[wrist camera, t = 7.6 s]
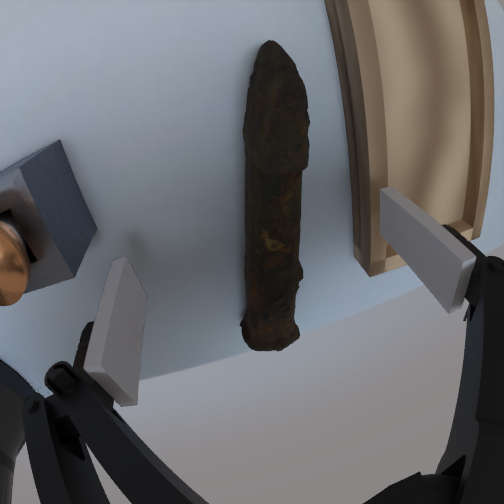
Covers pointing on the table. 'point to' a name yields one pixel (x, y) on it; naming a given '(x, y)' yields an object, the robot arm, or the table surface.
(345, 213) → the table surface
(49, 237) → the socket block
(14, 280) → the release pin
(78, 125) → the table surface
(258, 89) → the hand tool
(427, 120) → the tray
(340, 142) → the table surface
